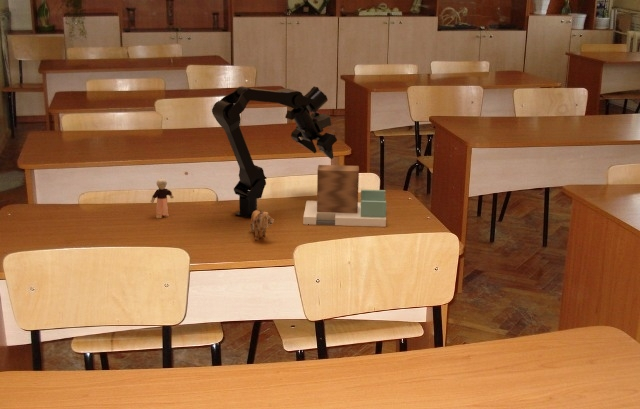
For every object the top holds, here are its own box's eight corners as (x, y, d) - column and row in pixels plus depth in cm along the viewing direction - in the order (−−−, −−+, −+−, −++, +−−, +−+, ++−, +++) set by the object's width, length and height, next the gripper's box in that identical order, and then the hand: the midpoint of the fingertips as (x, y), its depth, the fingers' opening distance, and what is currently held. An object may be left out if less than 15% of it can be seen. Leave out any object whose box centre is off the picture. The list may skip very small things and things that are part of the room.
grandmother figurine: (157, 220, 250) (155, 182, 246) (150, 217, 252) (147, 179, 248) (176, 214, 255) (175, 177, 251) (169, 211, 258) (167, 174, 254)
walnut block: (317, 212, 252) (317, 170, 247) (317, 205, 257) (318, 164, 253) (357, 213, 251) (358, 171, 247) (357, 207, 257) (358, 165, 252)
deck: (303, 224, 248) (303, 201, 246) (306, 207, 263) (306, 186, 261) (385, 226, 247) (386, 204, 245) (384, 209, 262) (385, 188, 260)
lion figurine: (275, 241, 234) (275, 213, 231) (259, 244, 232) (258, 215, 229) (258, 225, 247) (258, 198, 244) (242, 227, 245) (241, 200, 242)
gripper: (338, 110, 256) (356, 145, 266) (303, 101, 270) (322, 134, 279) (315, 132, 253) (335, 167, 262) (281, 121, 267) (301, 155, 276)
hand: (323, 155), depth 270 cm, fingers open, 9 cm apart
